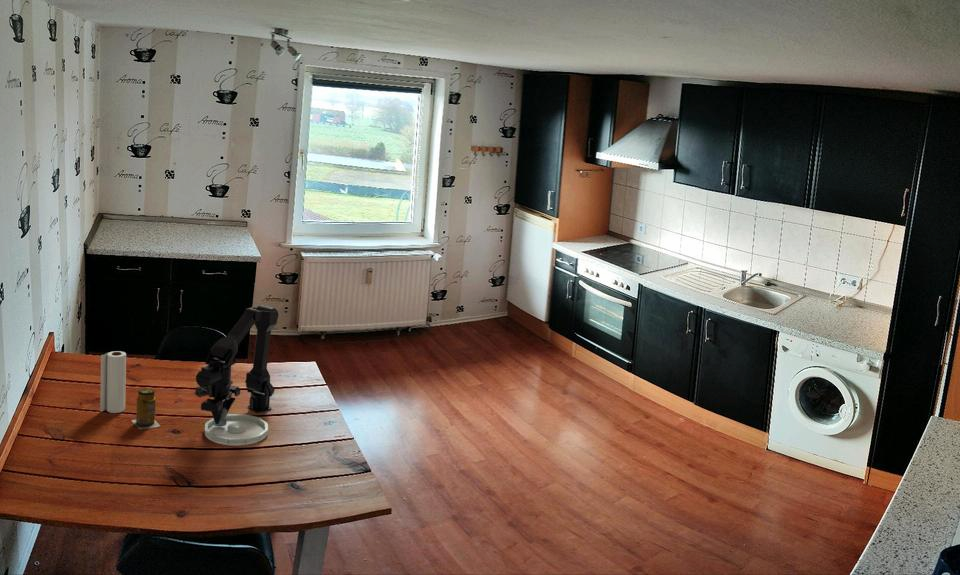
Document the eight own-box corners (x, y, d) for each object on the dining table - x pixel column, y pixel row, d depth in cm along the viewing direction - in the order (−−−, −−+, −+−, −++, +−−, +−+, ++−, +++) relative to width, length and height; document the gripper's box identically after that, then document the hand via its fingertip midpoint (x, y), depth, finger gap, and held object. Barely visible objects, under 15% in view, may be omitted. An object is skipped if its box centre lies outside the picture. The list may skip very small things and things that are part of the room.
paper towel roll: (127, 407, 299) (128, 351, 294) (121, 414, 293) (122, 357, 288) (107, 405, 298) (108, 349, 293) (100, 412, 293) (100, 354, 287)
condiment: (152, 417, 294) (153, 385, 291) (160, 426, 287) (161, 394, 284) (131, 420, 289) (131, 388, 286) (138, 430, 283) (139, 397, 280)
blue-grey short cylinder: (222, 420, 293) (222, 407, 292) (228, 424, 290) (229, 411, 289) (210, 422, 290) (211, 409, 289) (217, 427, 287) (217, 414, 286)
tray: (246, 415, 304) (247, 410, 304) (279, 436, 291) (279, 430, 290) (193, 428, 289) (193, 422, 288) (224, 450, 275) (225, 444, 275)
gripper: (212, 366, 296) (210, 407, 300) (186, 384, 278) (185, 427, 282) (241, 371, 295) (239, 412, 298) (218, 389, 277) (216, 433, 280)
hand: (220, 421), depth 290 cm, fingers closed on blue-grey short cylinder, 4 cm apart
